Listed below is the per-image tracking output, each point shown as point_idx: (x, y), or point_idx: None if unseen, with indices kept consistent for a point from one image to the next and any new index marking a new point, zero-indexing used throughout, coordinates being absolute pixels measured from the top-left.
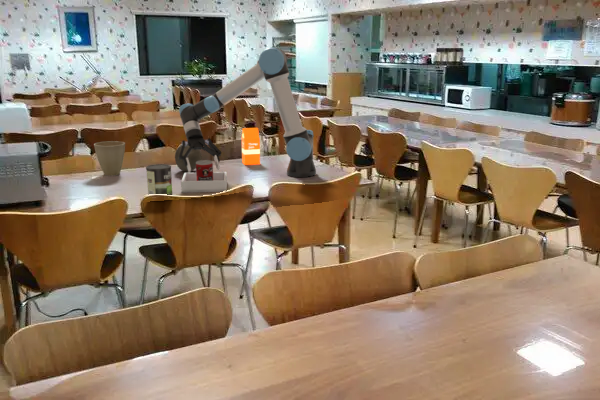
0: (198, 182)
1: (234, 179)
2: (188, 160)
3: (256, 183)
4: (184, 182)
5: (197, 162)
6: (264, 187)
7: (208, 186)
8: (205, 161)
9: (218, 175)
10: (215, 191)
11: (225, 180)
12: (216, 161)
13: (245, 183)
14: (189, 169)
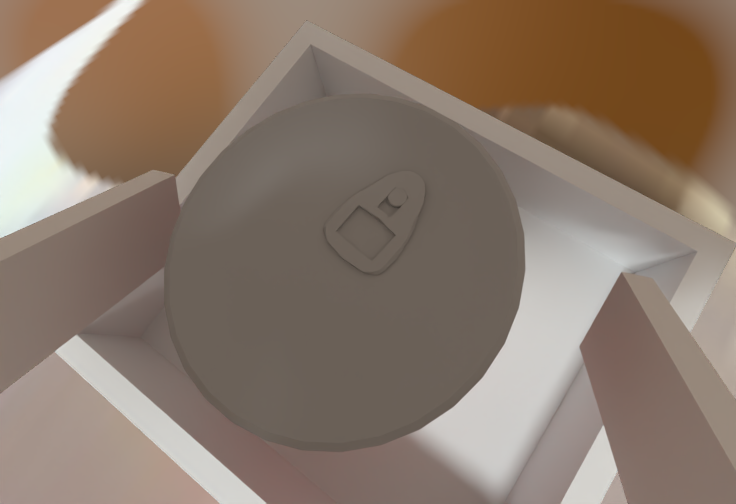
0: (539, 150)
1: (18, 382)
2: (726, 446)
3: (18, 152)
4: (688, 224)
5: (471, 320)
6: (71, 36)
7: None
8: (254, 340)
9: (149, 374)
10: None
11: (305, 30)
12: (92, 228)
13: (67, 202)
14: (650, 287)
